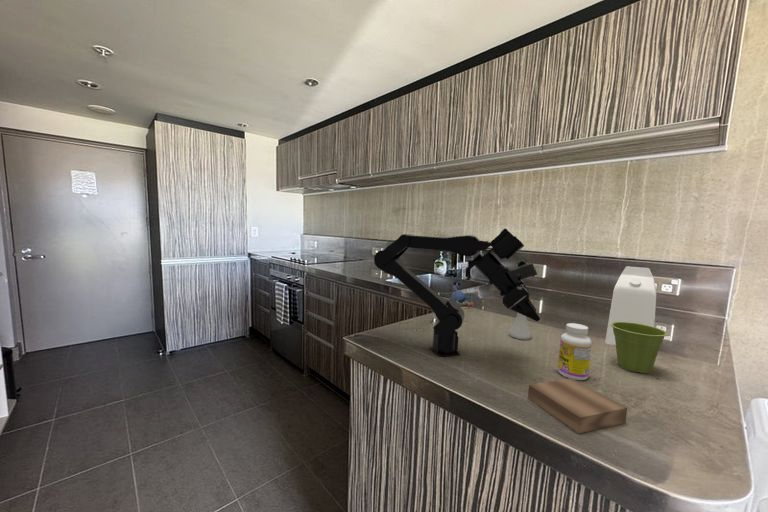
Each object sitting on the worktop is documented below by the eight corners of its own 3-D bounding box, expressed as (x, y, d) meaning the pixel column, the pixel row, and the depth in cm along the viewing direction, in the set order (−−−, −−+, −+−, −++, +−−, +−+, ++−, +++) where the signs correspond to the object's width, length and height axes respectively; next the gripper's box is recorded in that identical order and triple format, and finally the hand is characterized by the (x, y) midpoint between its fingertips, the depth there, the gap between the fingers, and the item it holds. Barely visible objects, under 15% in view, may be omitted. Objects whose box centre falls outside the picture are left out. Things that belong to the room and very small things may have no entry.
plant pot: (611, 355, 92) (615, 318, 91) (664, 369, 84) (669, 329, 83) (602, 366, 84) (606, 326, 83) (660, 383, 75) (665, 338, 74)
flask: (521, 341, 101) (524, 312, 100) (504, 334, 108) (506, 306, 107) (536, 339, 105) (538, 310, 104) (518, 332, 111) (520, 305, 110)
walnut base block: (578, 433, 55) (580, 417, 54) (527, 398, 66) (528, 384, 66) (625, 422, 58) (627, 407, 58) (569, 390, 70) (570, 378, 70)
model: (445, 304, 149) (447, 286, 149) (454, 301, 157) (455, 284, 156) (469, 309, 142) (470, 289, 141) (476, 306, 149) (478, 287, 149)
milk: (653, 344, 103) (662, 268, 101) (652, 353, 95) (661, 270, 93) (609, 335, 112) (617, 264, 109) (604, 342, 103) (612, 266, 101)
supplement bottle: (553, 367, 82) (557, 320, 81) (580, 370, 81) (585, 323, 80) (563, 379, 75) (568, 328, 74) (593, 383, 74) (598, 331, 73)
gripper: (520, 253, 72) (570, 303, 69) (516, 249, 90) (556, 290, 87) (483, 283, 76) (530, 333, 73) (487, 274, 93) (524, 314, 90)
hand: (536, 315), depth 80 cm, fingers open, 9 cm apart
